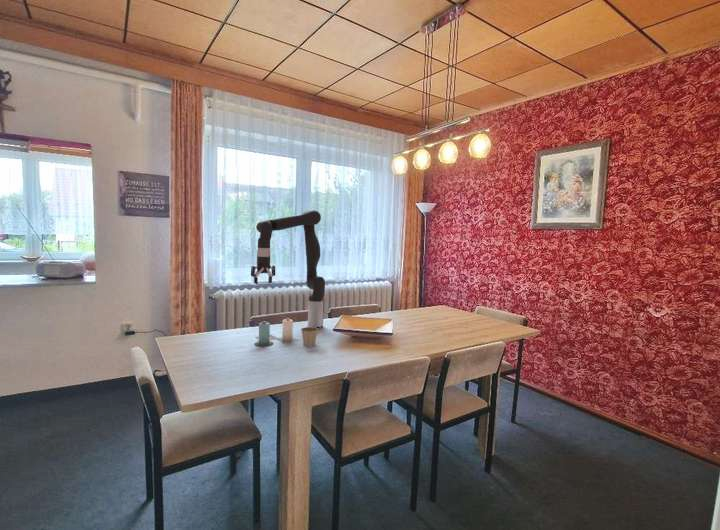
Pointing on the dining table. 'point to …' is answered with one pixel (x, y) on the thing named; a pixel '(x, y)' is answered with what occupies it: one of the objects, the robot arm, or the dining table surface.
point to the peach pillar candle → (287, 329)
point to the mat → (264, 345)
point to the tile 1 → (270, 338)
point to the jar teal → (264, 333)
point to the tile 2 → (287, 341)
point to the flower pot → (309, 335)
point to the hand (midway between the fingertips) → (263, 283)
